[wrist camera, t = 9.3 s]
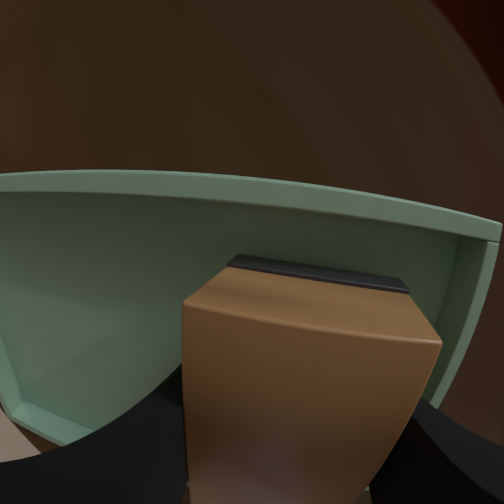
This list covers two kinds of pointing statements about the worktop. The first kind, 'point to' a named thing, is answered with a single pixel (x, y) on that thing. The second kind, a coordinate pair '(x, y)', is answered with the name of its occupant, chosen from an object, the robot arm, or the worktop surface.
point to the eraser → (297, 380)
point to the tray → (193, 275)
